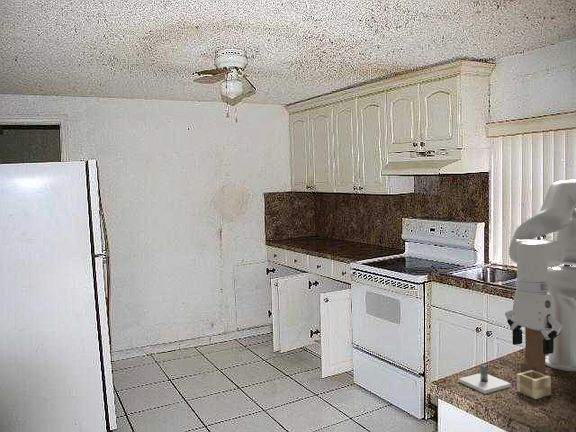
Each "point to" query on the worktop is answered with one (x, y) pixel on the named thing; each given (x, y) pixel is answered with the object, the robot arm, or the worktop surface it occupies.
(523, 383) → the maple collar
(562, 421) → the worktop surface
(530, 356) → the wooden block
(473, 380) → the pin plate
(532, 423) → the worktop surface
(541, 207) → the robot arm
